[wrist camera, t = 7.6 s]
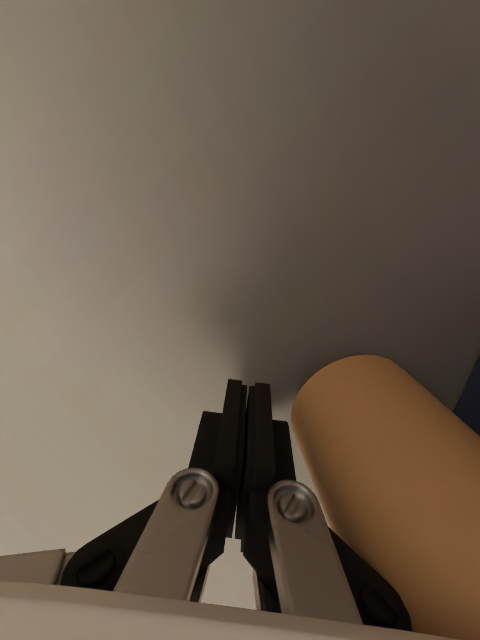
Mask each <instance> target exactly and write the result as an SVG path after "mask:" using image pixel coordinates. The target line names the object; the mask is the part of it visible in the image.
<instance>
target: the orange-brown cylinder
mask: <svg viewBox="0 0 480 640" xmlns="http://www.w3.org/2000/svg"><path fill="white" fill-rule="evenodd" d="M291 423H292V428H293V431H294V434H295V437H296V439H297V442H298V444H299V447H300V450H301V452H302V455H303V457H304V460H305V462H306V465H307V468H308V470H309V473H310V475H311V478H312V481H313V483H314V486H315V488H316V491H317V494H318V496H319V499H320V501H321V504H322V506H323V509H324V512H325V514H326V517H327V519H328V522H329V525H330V527H331V530H332V531H334V532H335V533H336V534H337V535H338V536H339V537H340V538H341V539H342V540H343V541H344V542H345V543H346V544H348V545H349V546H350V547H351V548H352V549H353V550H354V551H355V552H356V553H357V554H358V555H359V556H360V557H361V558H363V559H364V560H365V561H366V562H367V563H368V564H369V565H370V566H371V567H372V568H373V569H374V570H375V571H377V572H378V573H379V574H380V575H381V576H382V577H383V578H384V579H385V580H386V581H387V582H388V583H389V584H390V585H391V586H392V587H393V588H394V589H395V590H396V591H397V592H398V594H399V595H400V597H401V599H402V601H403V603H404V605H405V607H406V609H407V611H408V613H409V616H410V619H411V628H412V632H416V633H422V634H428V635H435V636H441V637H447V638H453V639H460V640H480V436H479V435H478V434H477V433H476V432H474V431H473V430H472V429H471V428H470V427H469V426H468V425H466V424H465V423H464V422H463V421H462V420H461V419H460V418H459V417H457V416H456V415H455V414H454V413H453V412H452V411H451V410H449V409H448V408H447V407H446V406H445V405H444V404H443V403H441V402H440V401H439V400H438V399H437V398H436V397H435V396H434V395H432V394H431V393H430V392H429V391H428V390H427V389H426V388H424V387H423V386H422V385H421V384H420V383H419V382H418V381H416V380H415V379H414V378H413V377H412V376H411V375H410V374H408V373H407V372H406V371H405V370H404V369H403V368H402V367H401V366H399V365H398V364H397V363H395V362H394V361H392V360H389V359H387V358H384V357H381V356H375V355H356V356H350V357H346V358H343V359H340V360H337V361H335V362H333V363H331V364H329V365H327V366H325V367H324V368H322V369H321V370H319V371H318V372H316V373H315V374H314V375H313V376H312V377H311V378H310V379H309V380H308V381H307V382H306V383H305V384H304V385H303V387H302V388H301V390H300V391H299V393H298V395H297V397H296V399H295V401H294V404H293V408H292V413H291Z"/></svg>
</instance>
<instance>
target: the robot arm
mask: <svg viewBox="0 0 480 640" xmlns="http://www.w3.org/2000/svg"><path fill="white" fill-rule="evenodd" d="M246 399H247V385H242V381H241V380H233V379H228V384H227V390H226V396H225V402H224V408H223V413H216V412H208V411H203V414H202V417H201V421H200V425H199V429H198V433H197V437H196V440H195V444H194V448H193V452H192V456H191V460H190V463H189V467H188V468H187V469H184V470H181V471H179V472H177V473H176V474H175V475H174V476H172V478H171V479H170V480H169V482H168V483H167V485H166V487H165V489H164V491H163V493H162V495H161V497H160V499H159V500H157V501H156V502H154V503H152V504H151V505H149V506H148V507H146V508H144V509H143V510H141V511H139V512H138V513H136V514H134V515H133V516H131V517H130V518H128V519H126V520H125V521H123V522H121V523H120V524H118V525H116V526H115V527H113V528H111V529H110V530H108V531H107V532H105V533H103V534H102V535H100V536H98V537H97V538H95V539H93V540H92V541H90V542H88V543H87V544H85V545H84V546H83V547H82V548H80V549H79V550H78V551H77V552H70V553H66V551H65V549H57V550H49V551H40V552H31V553H23V554H14V555H5V556H0V640H460V639H453V638H447V637H441V636H435V635H428V634H422V633H416V632H412V628H411V619H410V616H409V613H408V611H407V609H406V607H405V605H404V603H403V601H402V599H401V597H400V595H399V594H398V592H397V591H396V590H395V589H394V588H393V587H392V586H391V585H390V584H389V583H388V582H387V581H386V580H385V579H384V578H383V577H382V576H381V575H380V574H379V573H378V572H377V571H375V570H374V569H373V568H372V567H371V566H370V565H369V564H368V563H367V562H366V561H365V560H364V559H363V558H361V557H360V556H359V555H358V554H357V553H356V552H355V551H354V550H353V549H352V548H351V547H350V546H349V545H348V544H346V543H345V542H344V541H343V540H342V539H341V538H340V537H339V536H338V535H337V534H336V533H335V532H334V531H332V530H331V529H330V528H329V527H328V526H327V523H326V520H325V517H324V515H323V512H322V509H321V506H320V504H319V501H318V499H317V497H316V496H315V494H314V493H313V492H312V491H311V490H310V489H309V488H308V487H307V486H305V485H304V484H302V483H300V482H297V481H296V476H295V469H294V461H293V454H292V447H291V440H290V433H289V426H288V422H286V421H278V420H272V408H271V393H270V384H264V383H255V386H249V393H248V400H247V407H246ZM236 506H237V512H236ZM235 512H236V527H235V539H241V552H243V556H244V557H245V558H246V559H247V561H248V562H249V563H250V565H251V566H252V567H253V582H254V591H255V599H256V608H257V610H252V609H244V608H237V607H229V606H222V605H214V604H207V603H200V602H201V598H202V595H203V591H204V587H205V583H206V580H207V576H208V572H209V567H210V564H211V563H212V562H213V561H214V560H215V559H216V558H218V557H219V556H220V555H221V554H222V553H223V552H224V545H225V538H226V537H228V538H232V532H233V525H234V519H235Z"/></svg>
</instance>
